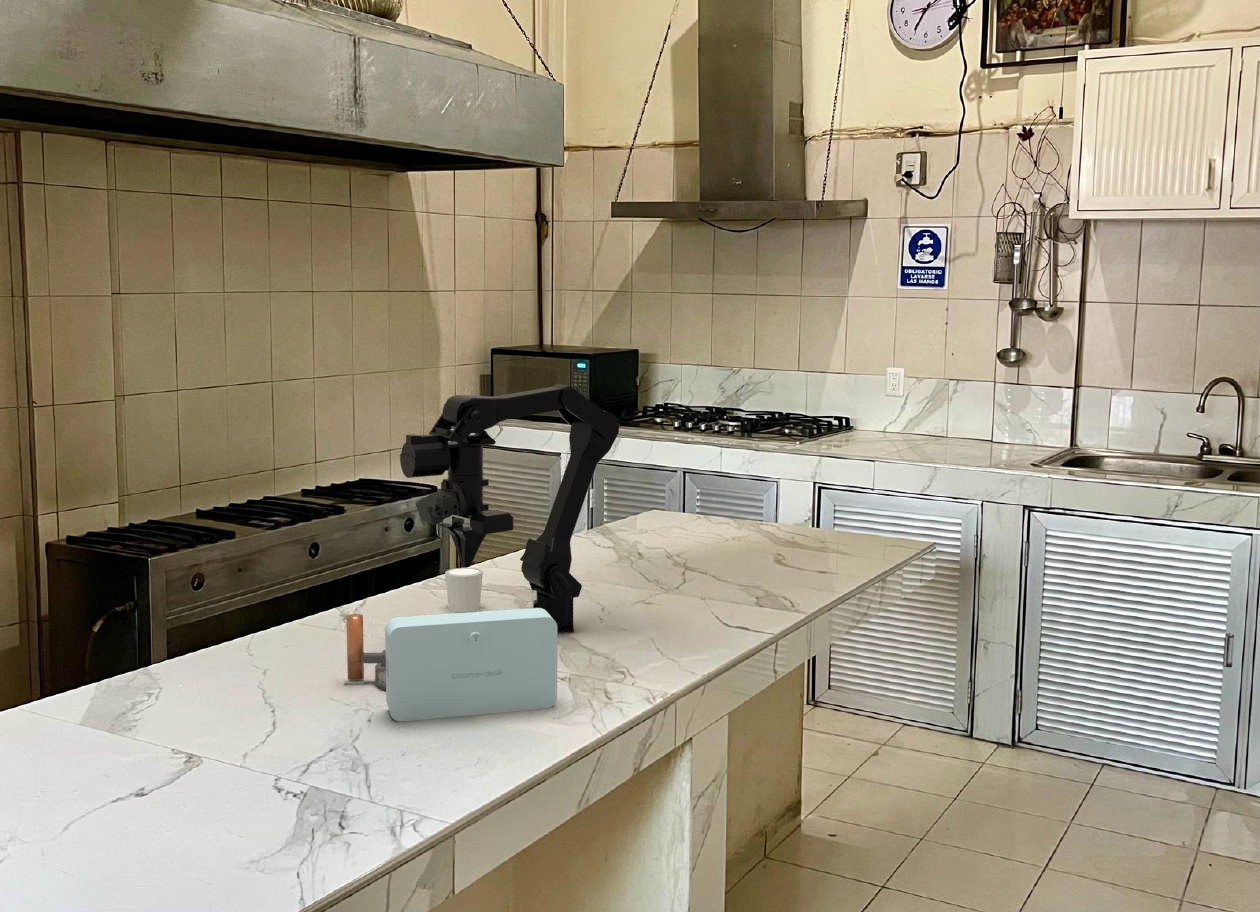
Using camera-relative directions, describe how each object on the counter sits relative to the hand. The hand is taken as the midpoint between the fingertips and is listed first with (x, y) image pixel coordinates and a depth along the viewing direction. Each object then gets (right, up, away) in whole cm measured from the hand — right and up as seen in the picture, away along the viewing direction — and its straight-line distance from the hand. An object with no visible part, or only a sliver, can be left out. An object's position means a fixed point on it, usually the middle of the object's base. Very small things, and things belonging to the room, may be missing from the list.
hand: (465, 566), depth 199 cm
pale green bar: (-14, -16, -19) cm, 28 cm away
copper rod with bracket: (-12, -15, -18) cm, 26 cm away
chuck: (-6, -16, -18) cm, 24 cm away
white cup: (-3, -10, +23) cm, 26 cm away
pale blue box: (+5, -18, -29) cm, 34 cm away
